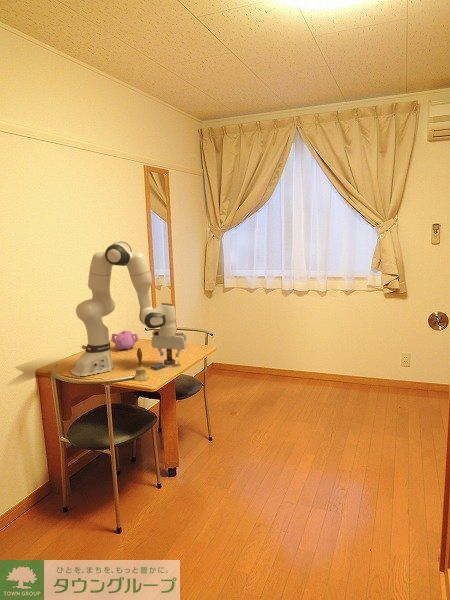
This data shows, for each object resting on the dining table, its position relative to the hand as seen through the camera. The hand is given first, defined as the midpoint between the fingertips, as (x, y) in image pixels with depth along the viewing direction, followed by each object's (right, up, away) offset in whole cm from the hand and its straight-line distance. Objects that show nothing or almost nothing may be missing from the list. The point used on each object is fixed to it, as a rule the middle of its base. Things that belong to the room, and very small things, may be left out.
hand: (169, 356), depth 228 cm
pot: (-33, 0, +34) cm, 48 cm away
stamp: (0, -4, 0) cm, 4 cm away
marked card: (0, -5, +1) cm, 5 cm away
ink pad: (-6, -6, -5) cm, 10 cm away
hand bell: (-12, -9, -21) cm, 25 cm away
